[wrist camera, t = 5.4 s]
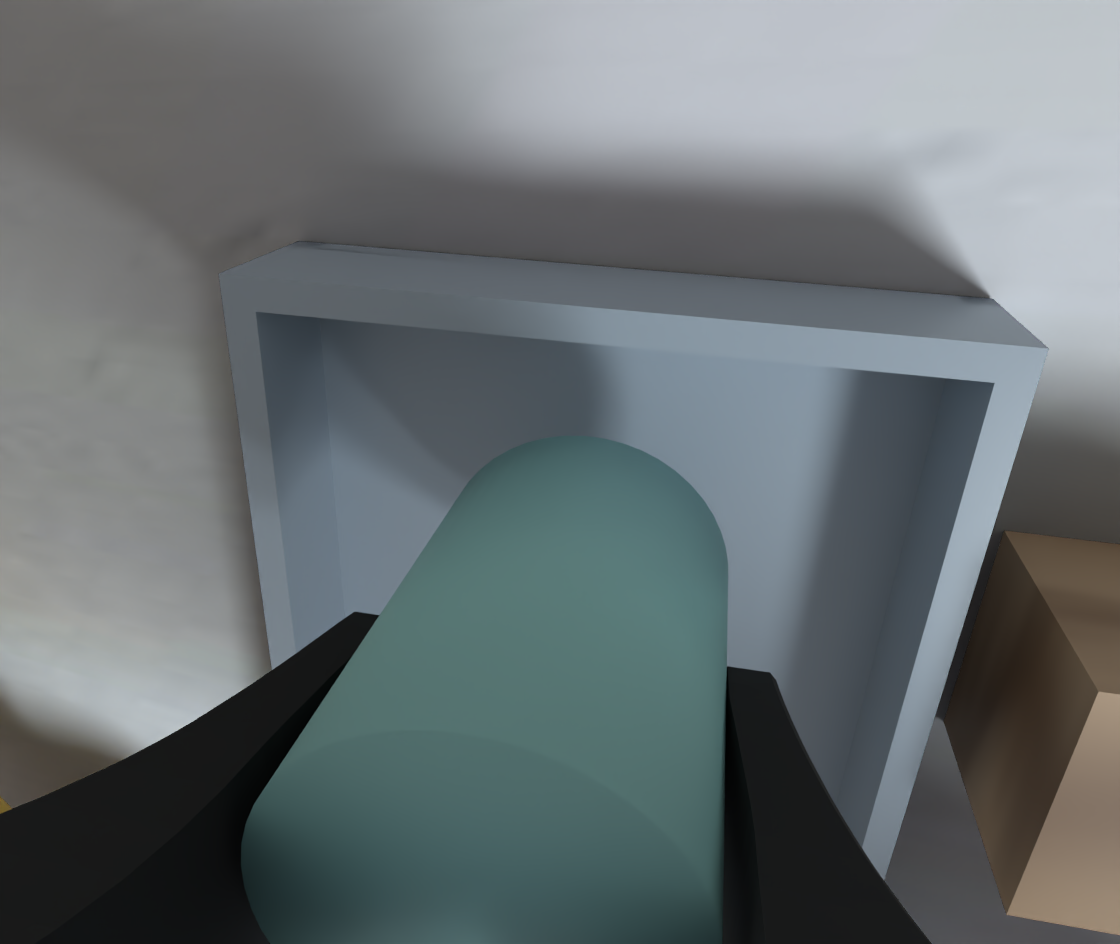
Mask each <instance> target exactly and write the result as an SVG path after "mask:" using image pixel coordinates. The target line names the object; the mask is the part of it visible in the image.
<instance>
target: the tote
mask: <svg viewBox="0 0 1120 944" xmlns="http://www.w3.org/2000/svg"><path fill="white" fill-rule="evenodd" d="M219 282H220V289H221V297H222V304H223V311H224V319H225V326H226V334H227V341H228V349H229V356H230V363H231V371H232V378H233V386H234V393H235V400H236V408H237V415H238V423H239V430H240V437H241V445H242V452H243V460H244V467H245V474H246V482H247V489H248V497H249V504H250V512H251V519H252V526H253V534H254V541H255V549H256V556H257V563H258V571H259V578H260V586H261V593H262V600H263V608H264V615H265V623H266V630H267V638H268V645H269V652H270V660H271V667H272V670H273V669H274V668H276V667H277V666H279V665H280V664H282V663H283V662H284V661H286V660H287V659H289V658H290V657H292V656H293V655H294V654H296V653H297V652H299V651H300V650H301V649H303V648H304V647H305V646H307V645H308V644H310V643H311V642H312V641H314V640H315V639H316V638H318V637H319V636H321V635H322V634H323V633H325V632H326V631H327V630H329V629H330V628H332V627H333V626H334V625H336V624H337V623H339V622H340V621H341V620H343V619H344V618H346V617H347V616H349V615H350V614H352V613H353V612H362V613H369V614H375V615H380V614H381V612H382V611H383V609H384V608H385V606H386V605H387V603H388V602H389V600H390V599H391V597H392V596H393V594H394V593H395V591H396V590H397V588H398V587H399V585H400V584H401V582H402V581H403V579H404V578H405V576H406V575H407V573H408V572H409V570H410V569H411V567H412V566H413V564H414V563H415V561H416V560H417V558H418V557H419V555H420V554H421V552H422V551H423V549H424V548H425V546H426V545H427V543H428V542H429V540H430V539H431V537H432V536H433V534H434V533H435V531H436V530H437V528H438V527H439V525H440V524H441V522H442V521H443V519H444V518H445V516H446V514H447V513H448V511H449V510H450V508H451V507H452V505H453V504H454V502H455V501H456V499H457V498H458V496H459V495H460V493H461V492H462V491H463V489H464V488H465V486H466V485H467V483H468V482H469V481H470V480H471V479H472V477H473V476H474V475H475V474H476V473H477V472H478V471H479V470H480V469H481V468H482V467H484V466H485V465H486V464H488V463H489V462H490V461H491V460H493V459H494V458H496V457H497V456H499V455H501V454H503V453H504V452H506V451H508V450H510V449H512V448H515V447H517V446H519V445H522V444H524V443H527V442H531V441H535V440H539V439H543V438H549V437H557V436H589V437H597V438H604V439H608V440H612V441H616V442H620V443H624V444H626V445H629V446H631V447H634V448H637V449H639V450H642V451H644V452H646V453H648V454H649V455H651V456H653V457H655V458H657V459H659V460H661V461H662V462H663V463H665V464H666V465H668V466H669V467H671V468H672V469H674V470H675V471H676V472H677V473H679V474H680V475H681V476H682V477H683V478H684V479H685V480H686V481H687V482H689V483H690V484H691V485H692V487H693V488H694V489H695V490H696V491H697V492H698V494H699V495H700V496H701V497H702V498H703V500H704V501H705V503H706V504H707V506H708V507H709V509H710V510H711V512H712V513H713V515H714V517H715V519H716V522H717V524H718V526H719V528H720V530H721V533H722V536H723V540H724V543H725V546H726V552H727V559H728V624H727V666H730V667H736V668H743V669H750V670H757V671H764V672H770V673H771V674H772V676H773V677H774V678H775V679H776V681H777V684H778V687H779V689H780V692H781V695H782V697H783V700H784V702H785V705H786V707H787V710H788V712H789V714H790V717H791V719H792V721H793V723H794V726H795V728H796V730H797V732H798V734H799V736H800V739H801V741H802V743H803V745H804V747H805V749H806V751H807V753H808V755H809V757H810V759H811V761H812V763H813V765H814V766H815V768H816V770H817V772H818V774H819V776H820V778H821V780H822V781H823V783H824V785H825V787H826V789H827V791H828V793H829V794H830V796H831V798H832V800H833V801H834V803H835V805H836V807H837V808H838V810H839V812H840V813H841V815H842V817H843V818H844V820H845V822H846V823H847V825H848V827H849V828H850V830H851V831H852V833H853V835H854V836H855V838H856V840H857V841H858V843H859V844H860V846H861V847H862V849H863V850H864V852H865V853H866V855H867V857H868V858H869V860H870V861H871V863H872V864H873V866H874V867H875V868H876V870H877V871H878V873H879V874H880V876H881V877H882V879H883V880H884V879H885V876H886V873H887V870H888V866H889V863H890V860H891V857H892V854H893V850H894V847H895V844H896V841H897V837H898V834H899V831H900V828H901V824H902V821H903V818H904V815H905V812H906V808H907V805H908V802H909V799H910V795H911V792H912V789H913V786H914V782H915V779H916V776H917V773H918V770H919V766H920V763H921V760H922V757H923V753H924V750H925V747H926V744H927V741H928V737H929V734H930V731H931V728H932V724H933V721H934V718H935V715H936V711H937V708H938V705H939V702H940V699H941V695H942V692H943V689H944V686H945V682H946V679H947V676H948V673H949V669H950V666H951V663H952V660H953V657H954V653H955V650H956V647H957V644H958V640H959V637H960V634H961V631H962V627H963V624H964V621H965V618H966V615H967V611H968V608H969V605H970V602H971V598H972V595H973V592H974V589H975V585H976V582H977V579H978V576H979V573H980V569H981V566H982V563H983V560H984V556H985V553H986V550H987V547H988V544H989V540H990V537H991V534H992V531H993V527H994V524H995V521H996V518H997V514H998V511H999V508H1000V505H1001V502H1002V498H1003V495H1004V492H1005V489H1006V485H1007V482H1008V479H1009V476H1010V472H1011V469H1012V466H1013V463H1014V460H1015V456H1016V453H1017V450H1018V447H1019V443H1020V440H1021V437H1022V434H1023V430H1024V427H1025V424H1026V421H1027V418H1028V414H1029V411H1030V408H1031V405H1032V401H1033V398H1034V395H1035V392H1036V388H1037V385H1038V382H1039V379H1040V376H1041V372H1042V369H1043V366H1044V363H1045V359H1046V356H1047V353H1048V350H1049V348H1048V347H1046V346H1045V345H1044V344H1043V343H1042V342H1041V341H1040V340H1039V339H1037V338H1036V337H1035V336H1034V335H1033V334H1032V333H1031V332H1030V331H1028V330H1027V329H1026V328H1025V327H1024V326H1023V325H1022V324H1021V323H1019V322H1018V321H1017V320H1016V319H1015V318H1014V317H1013V316H1012V315H1010V314H1009V313H1008V312H1007V311H1006V310H1005V309H1004V308H1003V307H1001V306H1000V305H999V304H998V303H997V302H996V301H995V300H994V299H990V298H978V297H966V296H954V295H942V294H930V293H918V292H906V291H894V290H882V289H870V288H858V287H846V286H834V285H821V284H809V283H797V282H785V281H773V280H761V279H749V278H737V277H725V276H713V275H701V274H689V273H677V272H665V271H653V270H641V269H629V268H617V267H605V266H593V265H581V264H568V263H556V262H544V261H532V260H520V259H508V258H496V257H484V256H472V255H460V254H448V253H436V252H424V251H412V250H400V249H388V248H376V247H364V246H352V245H340V244H328V243H316V242H303V241H298V242H295V243H293V244H290V245H288V246H285V247H283V248H280V249H278V250H276V251H273V252H271V253H268V254H266V255H263V256H261V257H258V258H256V259H253V260H251V261H249V262H246V263H244V264H241V265H239V266H236V267H234V268H231V269H229V270H226V271H224V272H221V273H219Z"/></svg>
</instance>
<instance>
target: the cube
mask: <svg viewBox="0 0 1120 944" xmlns="http://www.w3.org/2000/svg"><path fill="white" fill-rule="evenodd" d="M944 724H945V727H946V730H947V733H948V736H949V739H950V742H951V746H952V749H953V752H954V755H955V758H956V761H957V764H958V767H959V770H960V773H961V776H962V779H963V783H964V786H965V789H966V792H967V795H968V798H969V801H970V804H971V807H972V810H973V813H974V816H975V820H976V823H977V826H978V829H979V832H980V835H981V838H982V841H983V844H984V847H985V850H986V853H987V857H988V860H989V863H990V866H991V869H992V872H993V875H994V878H995V881H996V884H997V887H998V890H999V894H1000V897H1001V900H1002V903H1003V906H1004V909H1005V912H1006V915H1010V916H1016V917H1021V918H1027V919H1032V920H1038V921H1043V922H1049V923H1054V924H1060V925H1066V926H1071V927H1077V928H1082V929H1088V930H1093V931H1099V932H1104V933H1110V934H1115V935H1120V544H1113V543H1105V542H1097V541H1088V540H1080V539H1071V538H1063V537H1055V536H1046V535H1038V534H1029V533H1021V532H1013V531H1004V532H1003V535H1002V538H1001V542H1000V545H999V548H998V551H997V554H996V557H995V561H994V564H993V567H992V570H991V573H990V576H989V580H988V583H987V586H986V589H985V592H984V595H983V599H982V602H981V605H980V608H979V611H978V614H977V618H976V621H975V624H974V627H973V630H972V633H971V637H970V640H969V643H968V646H967V649H966V652H965V656H964V659H963V662H962V665H961V668H960V671H959V675H958V678H957V681H956V684H955V687H954V690H953V694H952V697H951V700H950V703H949V706H948V709H947V713H946V716H945V719H944Z"/></svg>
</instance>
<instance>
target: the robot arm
mask: <svg viewBox="0 0 1120 944" xmlns="http://www.w3.org/2000/svg"><path fill="white" fill-rule="evenodd" d="M378 617H379V615H375V614H369V613H362V612H353V613H352V614H350V615H349V616H347V617H346V618H344V619H343V620H341V621H340V622H339V623H337V624H336V625H334V626H333V627H332V628H330V629H329V630H327V631H326V632H325V633H323V634H322V635H321V636H319V637H318V638H316V639H315V640H314V641H312V642H311V643H310V644H308V645H307V646H305V647H304V648H303V649H301V650H300V651H299V652H297V653H296V654H294V655H293V656H292V657H290V658H289V659H287V660H286V661H284V662H283V663H282V664H280V665H279V666H277V667H276V668H274V669H273V670H272V671H270V672H269V673H267V674H266V675H264V676H263V677H262V678H260V679H259V680H257V681H256V682H254V683H253V684H251V685H250V686H248V687H247V688H245V689H244V690H242V691H240V692H239V693H237V694H236V695H234V696H233V697H231V698H229V699H228V700H226V701H225V702H223V703H222V704H220V705H218V706H217V707H215V708H214V709H212V710H210V711H209V712H207V713H206V714H204V715H203V716H201V717H199V718H198V719H196V720H195V721H193V722H191V723H190V724H188V725H186V726H185V727H183V728H181V729H179V730H178V731H176V732H174V733H172V734H171V735H169V736H167V737H165V738H163V739H162V740H160V741H158V742H156V743H154V744H152V745H150V746H148V747H147V748H145V749H143V750H141V751H139V752H137V753H135V754H133V755H131V756H129V757H128V758H126V759H124V760H122V761H120V762H118V763H116V764H114V765H112V766H109V767H107V768H105V769H103V770H101V771H98V772H96V773H94V774H92V775H90V776H87V777H85V778H83V779H81V780H78V781H76V782H74V783H72V784H70V785H67V786H65V787H63V788H61V789H59V790H56V791H54V792H52V793H50V794H48V795H45V796H43V797H41V798H38V799H36V800H33V801H31V802H28V803H26V804H23V805H21V806H18V807H16V808H13V809H11V810H8V811H6V812H3V813H1V814H0V944H270V942H269V941H268V939H267V938H266V936H265V935H264V933H263V931H262V930H261V928H260V926H259V924H258V922H257V920H256V918H255V915H254V913H253V911H252V909H251V906H250V903H249V900H248V897H247V894H246V891H245V888H244V882H243V876H242V869H241V843H242V838H243V834H244V829H245V824H246V822H247V819H248V817H249V815H250V812H251V810H252V808H253V805H254V803H255V802H256V800H257V799H258V797H259V796H260V794H261V793H262V791H263V790H264V788H265V787H266V785H267V784H268V782H269V781H270V779H271V778H272V776H273V775H274V773H275V772H276V770H277V769H278V767H279V766H280V764H281V763H282V761H283V760H284V758H285V757H286V755H287V754H288V752H289V751H290V749H291V748H292V746H293V745H294V743H295V742H296V740H297V739H298V737H299V736H300V734H301V733H302V731H303V730H304V728H305V727H306V725H307V724H308V722H309V721H310V719H311V718H312V716H313V715H314V713H315V712H316V710H317V709H318V707H319V706H320V704H321V703H322V701H323V700H324V698H325V696H326V695H327V693H328V692H329V690H330V689H331V687H332V686H333V684H334V683H335V681H336V680H337V678H338V677H339V675H340V674H341V672H342V671H343V669H344V668H345V666H346V665H347V663H348V662H349V660H350V659H351V657H352V656H353V654H354V653H355V651H356V650H357V648H358V647H359V645H360V644H361V642H362V641H363V639H364V638H365V636H366V635H367V633H368V632H369V630H370V629H371V627H372V626H373V624H374V623H375V621H376V620H377V618H378ZM722 944H931V942H930V941H929V940H928V939H927V937H926V936H925V935H924V933H923V932H922V931H921V930H920V928H919V927H918V926H917V924H916V923H915V922H914V920H913V919H912V918H911V917H910V915H909V914H908V913H907V911H906V910H905V909H904V908H903V906H902V905H901V904H900V902H899V901H898V899H897V898H896V897H895V895H894V894H893V892H892V891H891V890H890V888H889V887H888V886H887V884H886V883H885V881H884V880H883V879H882V877H881V876H880V874H879V873H878V871H877V870H876V868H875V867H874V866H873V864H872V863H871V861H870V860H869V858H868V857H867V855H866V853H865V852H864V850H863V849H862V847H861V846H860V844H859V843H858V841H857V840H856V838H855V836H854V835H853V833H852V831H851V830H850V828H849V827H848V825H847V823H846V822H845V820H844V818H843V817H842V815H841V813H840V812H839V810H838V808H837V807H836V805H835V803H834V801H833V800H832V798H831V796H830V794H829V793H828V791H827V789H826V787H825V785H824V783H823V781H822V780H821V778H820V776H819V774H818V772H817V770H816V768H815V766H814V765H813V763H812V761H811V759H810V757H809V755H808V753H807V751H806V749H805V747H804V745H803V743H802V741H801V739H800V736H799V734H798V732H797V730H796V728H795V726H794V723H793V721H792V719H791V717H790V714H789V712H788V710H787V707H786V705H785V702H784V700H783V697H782V695H781V692H780V689H779V687H778V684H777V681H776V679H775V678H774V677H773V676H772V674H771V673H770V672H764V671H757V670H750V669H743V668H736V667H730V666H727V685H726V752H725V815H724V879H723V943H722Z"/></svg>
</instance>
